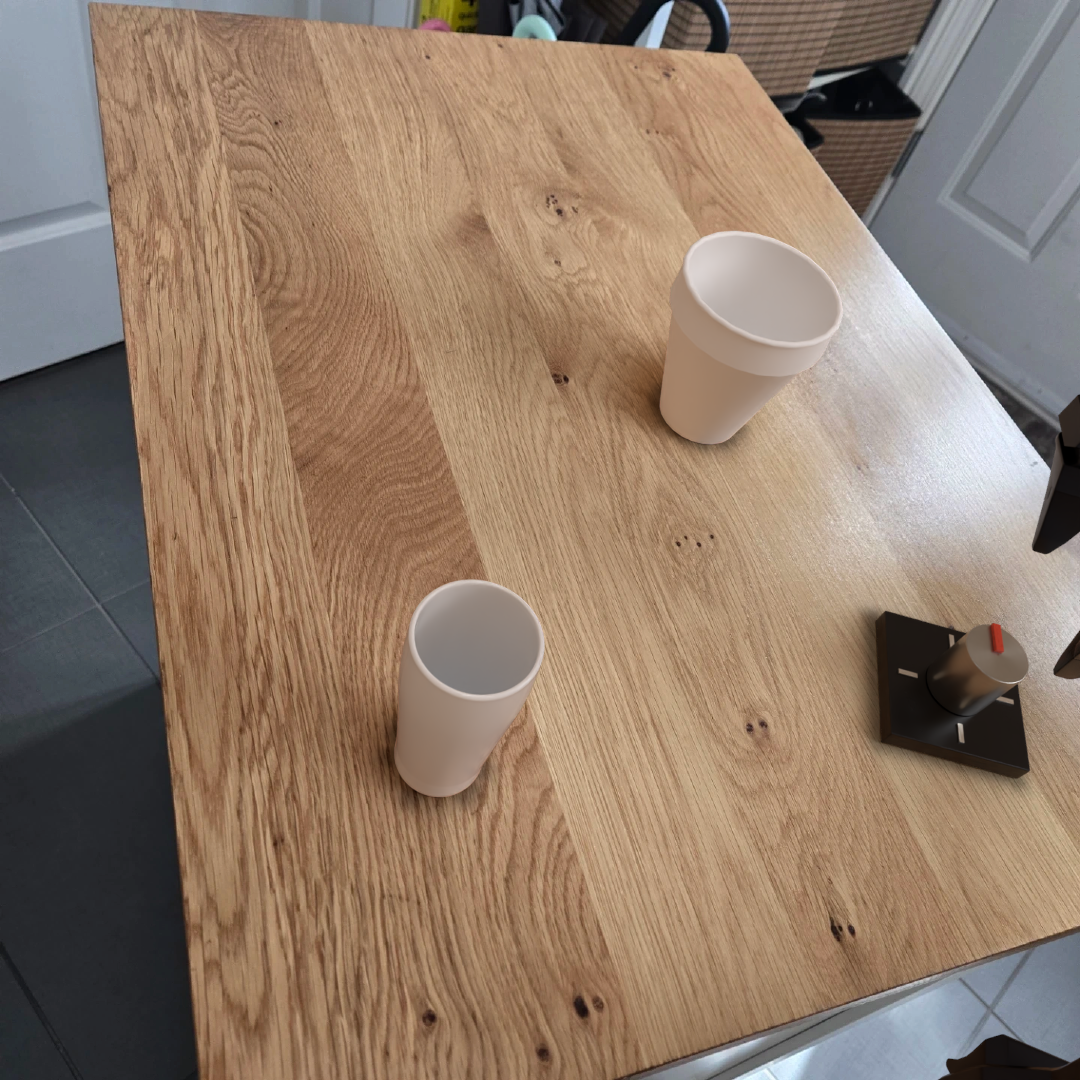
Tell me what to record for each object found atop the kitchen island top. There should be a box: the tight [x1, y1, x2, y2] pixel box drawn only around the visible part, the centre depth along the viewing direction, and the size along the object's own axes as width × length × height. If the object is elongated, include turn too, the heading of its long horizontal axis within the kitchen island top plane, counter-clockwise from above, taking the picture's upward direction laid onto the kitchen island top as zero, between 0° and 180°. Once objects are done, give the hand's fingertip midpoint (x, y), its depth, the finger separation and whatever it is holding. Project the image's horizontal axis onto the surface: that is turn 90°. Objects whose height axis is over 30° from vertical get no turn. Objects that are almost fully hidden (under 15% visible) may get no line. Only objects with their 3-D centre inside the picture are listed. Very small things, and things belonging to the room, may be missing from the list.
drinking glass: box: [393, 578, 546, 798], centre depth 52 cm, size 7×7×15 cm
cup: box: [659, 230, 844, 445], centre depth 74 cm, size 12×12×14 cm
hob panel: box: [875, 610, 1031, 779], centre depth 68 cm, size 10×10×2 cm
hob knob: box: [927, 622, 1030, 716], centre depth 65 cm, size 4×4×5 cm
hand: (1049, 610), depth 59 cm, fingers open, 9 cm apart
